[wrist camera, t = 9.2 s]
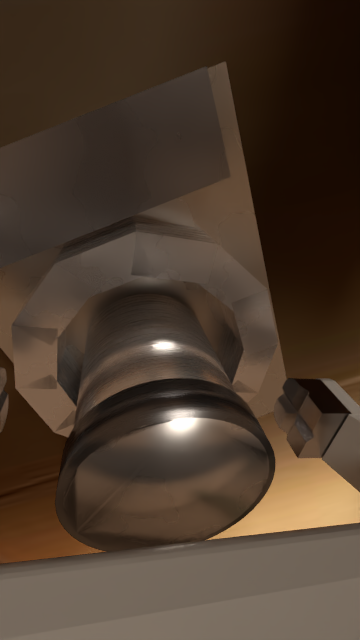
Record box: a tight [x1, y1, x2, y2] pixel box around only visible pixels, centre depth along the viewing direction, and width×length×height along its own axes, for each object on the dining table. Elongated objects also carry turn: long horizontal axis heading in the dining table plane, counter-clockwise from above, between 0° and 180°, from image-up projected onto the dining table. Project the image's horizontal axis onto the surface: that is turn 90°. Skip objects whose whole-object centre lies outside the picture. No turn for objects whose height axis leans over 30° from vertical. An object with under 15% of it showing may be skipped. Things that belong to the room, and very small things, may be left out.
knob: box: [55, 293, 275, 552], centre depth 9 cm, size 5×5×6 cm
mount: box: [0, 61, 287, 437], centre depth 12 cm, size 14×10×5 cm
